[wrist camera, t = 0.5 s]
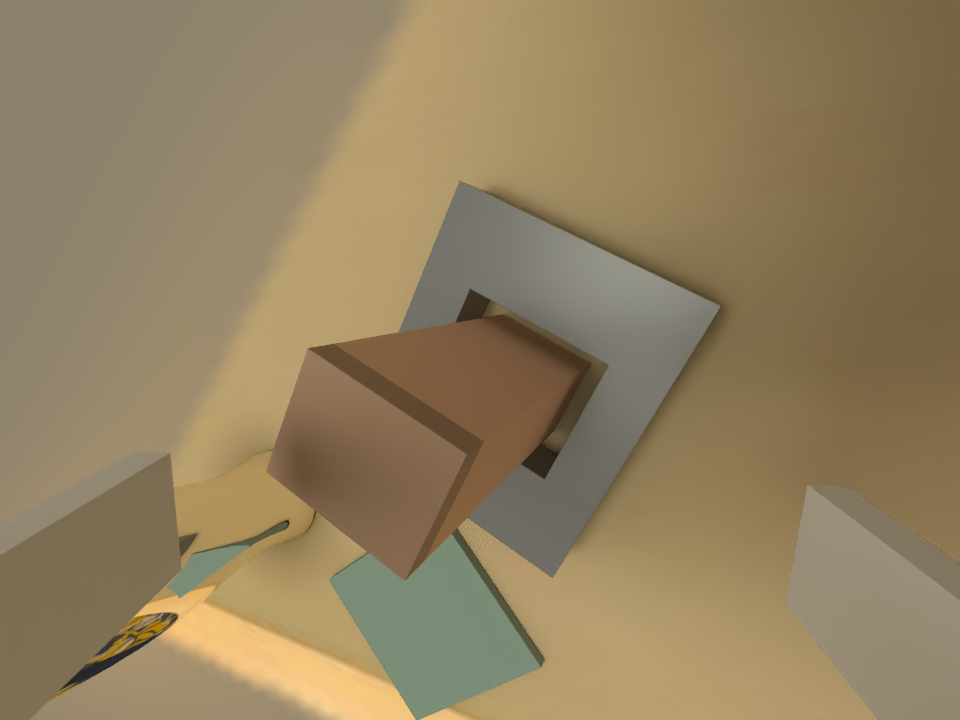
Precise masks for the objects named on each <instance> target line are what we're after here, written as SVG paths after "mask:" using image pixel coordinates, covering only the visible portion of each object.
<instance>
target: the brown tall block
mask: <svg viewBox="0 0 960 720" xmlns="http://www.w3.org/2000/svg"><path fill="white" fill-rule="evenodd" d="M590 364H591V363H590V362H588V361H586V360H585V359H583V358H581V357H579V356H577V355H576V354H574V353H572V352H570V351H568V350H567V349H565V348H563V347H561V346H559V345H558V344H556V343H554V342H552V341H550V340H549V339H547V338H545V337H543V336H541V335H540V334H538V333H536V332H534V331H532V330H531V329H529V328H527V327H525V326H523V325H522V324H520V323H518V322H516V321H514V320H513V319H511V318H509V317H507V316H505V315H504V314H503V315H497V316H491V317H485V318H480V319H474V320H468V321H462V322H457V323H451V324H445V325H439V326H434V327H428V328H422V329H417V330H411V331H405V332H399V333H394V334H388V335H382V336H376V337H371V338H365V339H359V340H354V341H348V342H342V343H336V344H331V345H325V346H319V347H313V348H308V350H307V353H306V356H305V359H304V362H303V364H302V367H301V370H300V373H299V376H298V379H297V382H296V385H295V388H294V391H293V394H292V397H291V399H290V402H289V405H288V408H287V411H286V414H285V417H284V420H283V423H282V426H281V429H280V432H279V435H278V437H277V440H276V443H275V446H274V449H273V452H272V455H271V458H270V461H269V464H268V467H267V470H266V472H267V473H268V474H269V475H271V476H272V477H273V478H274V479H276V480H277V481H278V482H279V483H281V484H282V485H283V486H284V487H286V488H287V489H288V490H290V491H291V492H292V493H293V494H295V495H296V496H297V497H298V498H300V499H301V500H302V501H304V502H305V503H306V504H307V505H309V506H310V507H311V508H312V509H314V510H315V511H316V512H318V513H319V514H320V515H321V516H323V517H324V518H325V519H326V520H328V521H329V522H330V523H332V524H333V525H334V526H335V527H337V528H338V529H339V530H340V531H342V532H343V533H344V534H345V535H347V536H348V537H349V538H351V539H352V540H353V541H354V542H356V543H357V544H358V545H359V546H361V547H362V548H363V549H365V550H366V551H367V552H368V553H370V554H371V555H372V556H373V557H375V558H376V559H377V560H379V561H380V562H381V563H382V564H384V565H385V566H386V567H387V568H389V569H390V570H391V571H393V572H394V573H395V574H396V575H398V576H399V577H400V578H401V579H403V580H404V581H405V580H406V579H407V578H408V577H409V576H410V575H411V574H412V573H413V572H414V571H415V570H416V569H417V568H418V567H419V566H420V565H421V564H422V563H423V562H424V561H425V560H426V559H427V558H428V557H429V556H430V555H431V554H432V553H433V552H434V551H435V550H436V549H437V548H438V547H439V546H440V545H441V544H442V543H443V542H444V541H445V540H446V539H447V538H448V537H449V536H450V535H451V534H452V533H453V532H454V531H455V530H456V529H457V528H458V527H459V526H460V525H461V524H462V523H463V522H464V521H465V520H466V519H467V518H468V517H469V516H470V515H471V514H472V513H473V512H474V511H475V510H476V509H477V508H478V507H479V506H480V505H481V504H482V503H483V502H484V501H485V500H486V499H487V498H488V497H489V496H490V495H491V494H492V493H493V492H494V491H495V490H496V489H497V488H498V487H499V486H500V485H501V484H502V483H503V482H504V481H505V479H506V478H507V477H508V476H509V475H510V474H511V473H512V472H513V471H514V470H515V469H516V468H517V467H518V466H519V465H520V464H521V463H522V462H523V461H524V460H525V459H526V458H527V457H528V456H529V455H530V454H531V453H532V452H533V451H534V450H535V449H536V448H537V447H538V446H539V445H540V444H541V443H542V442H543V441H544V440H545V439H546V438H547V437H548V436H549V435H550V434H551V433H552V432H553V431H554V429H555V427H556V426H557V424H558V422H559V420H560V418H561V416H562V415H563V413H564V411H565V409H566V407H567V406H568V404H569V402H570V400H571V398H572V396H573V395H574V393H575V391H576V389H577V387H578V386H579V384H580V382H581V380H582V378H583V376H584V375H585V373H586V371H587V369H588V367H589V366H590Z"/></svg>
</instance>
